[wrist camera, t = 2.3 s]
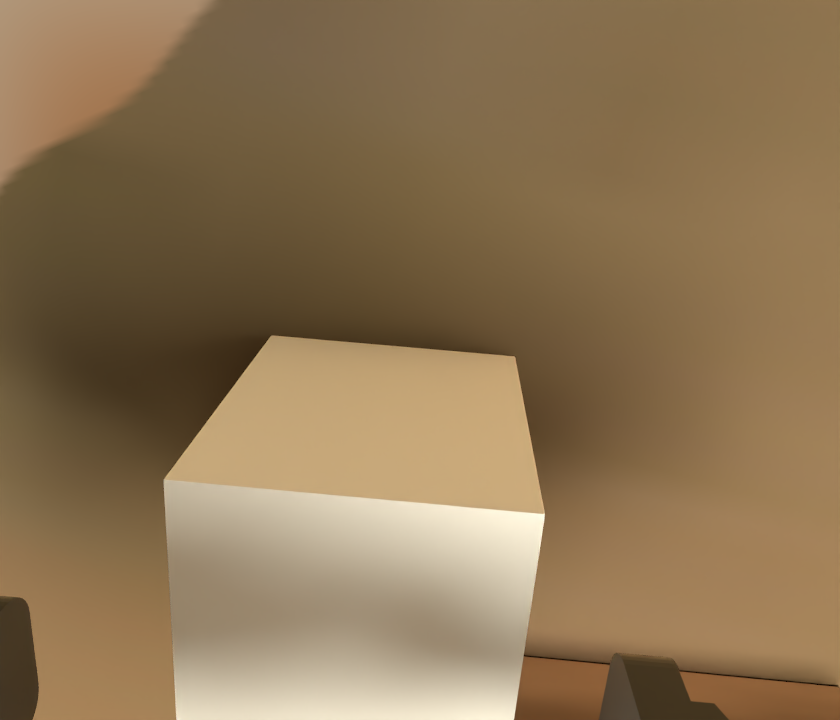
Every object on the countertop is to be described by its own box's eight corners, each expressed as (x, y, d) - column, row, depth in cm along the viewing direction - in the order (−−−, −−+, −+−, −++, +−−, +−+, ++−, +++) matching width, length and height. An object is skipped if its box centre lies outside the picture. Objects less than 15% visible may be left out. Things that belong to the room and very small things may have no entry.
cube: (271, 334, 16) (163, 479, 10) (515, 355, 15) (545, 514, 10) (271, 541, 17) (178, 763, 12) (489, 561, 17) (502, 796, 12)
